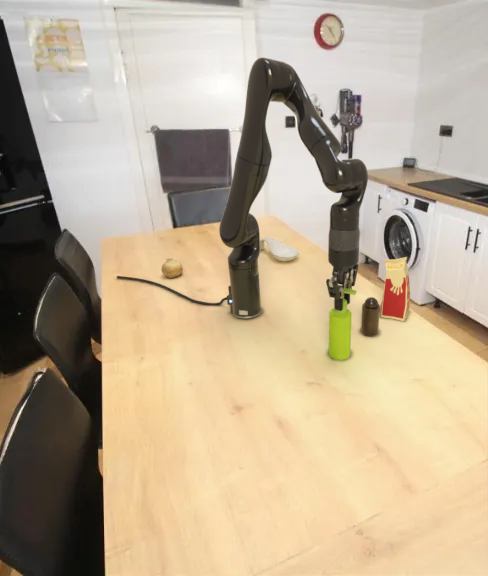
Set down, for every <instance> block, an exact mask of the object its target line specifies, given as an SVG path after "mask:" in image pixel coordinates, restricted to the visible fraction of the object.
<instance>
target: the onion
mask: <svg viewBox="0 0 488 576" xmlns="http://www.w3.org/2000/svg"><path fill="white" fill-rule="evenodd" d="M160 270H161V273H162V275H163V276H165V277H166V278H169V279H174V278H177V277H179V276H180V275H181V274H182V273H183V265H182V263H181V262H180V261H178V260H176V259H174V258H166V261H165V262H163V264H162V265H161V269H160Z"/></svg>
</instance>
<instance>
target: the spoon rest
mask: <svg viewBox="0 0 488 576" xmlns="http://www.w3.org/2000/svg"><path fill="white" fill-rule="evenodd" d="M265 242H266V243H267V245H268V249H269V251H270V253H271V255H272V257H273V258H274V259H275V260H277V261H279V262H283V263H285V262H290V261H293V260H295V259H296V258H297V257H298V256H299V254H300V251H299V250H298V249H297V248H295V247H293V246H291V245H289V244H287V243H285V242H282V241H279V239H278V240H277V239H275V238H274V237H270V236H266V237H264V238H260V251H262V250H264V249H265Z"/></svg>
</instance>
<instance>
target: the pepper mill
mask: <svg viewBox="0 0 488 576" xmlns="http://www.w3.org/2000/svg"><path fill="white" fill-rule="evenodd" d="M380 307H381V304H379V301H378V300H377V299H376V298H375V297H373V296H369V297H367V298H366V299H365V301H364V302H363V303H362V306H361V322H360V323H361V325H360V333H361V334H362V335H363V336H366V337H375V336H377V335H378V334H379V327H380Z"/></svg>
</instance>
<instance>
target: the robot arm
mask: <svg viewBox="0 0 488 576" xmlns="http://www.w3.org/2000/svg"><path fill="white" fill-rule="evenodd" d="M270 103H278V104H279V103H280V104H283V105H284V106H285V107H286V108H287V109H288V110H289V111H290V112H291V113H292V114H293V116H294V118H295V122H296V123H295V124H296V132H297V135H298V137H299V140H300V142H301V143H302V145H303V146H304V148H305V149H306V150H307V151H308V153H309V154H310V156H311V157H312V158H313V160H314V163H315V165H316V168H317V170H318V174H319V176H320V179H321V181H322V184H323V185H324V187H325V188H326V189H327V190H329V191H330V192H331V193H334V194H340V197H339V198H338V199H337V200H335V201H334V202H332V203H331V205H330V207H329V228H328V229H329V231H328V243H327V244H328V245H327V246H328V248H327V249H328V251H327V253H328V254H327V256H328V257H327V260H328V263H329V264H330V265H331V266H332V271H331V275H332V276H331V277H330V278H327V279H326V281H325V284H326V288H327V291H328V296H329V298H331V299H332V298H333V299H334V300H333V301H334V302H333V309H334V308H335V310H339V311H342V310H343V295H344V299H346V300H347V306H348V305H349V304H350V303H351V294H346V293H344V290H345V289H346V288H349V289H353V287H355V285H356V280H357V275H358V270H359V264H358V263H359V262H360V261H359V259H360V212H361V211H360V210H361V207H362V203H363V200H364V197H365V193H366V191H367V186H368V182H369V181H368V180H369V173H368V168H367V166H366V164H365V163H364V161H363V160H361V159H359V158H354V157H353V158H352V157H351V158H346V159H340V158H338V157H339V156H340V154H341V151H342V145H341V142H340V140H339V139H338V137H337V136H336V135H335V133H334V132H333V131H332V130H331V128H330V127H329V126H328V125H327V123H326V122H325V120H324V119H323V118H322V116H321V115H320V113H319V112H318V110H317V109H316V107H315V104H314V103H313V102H312V100H311V98H310V96H309V93H308V92H307V90H306V88H305V86H304V84H303V82H302V80H301V78H300V76H299V74H298V73H297V70H296V69H295V68H294V66H292V65H291V64H290V63H288V62H285V61H281V60H277V59H272V58H269V57H258V58H257V59H256V60H254V62H253V64H252V65H251V68H250V70H249V75H248V81H247V88H246V96H245V105H244V116H243V122H242V128H241V134H240V139H239V144H238V148H237V152H236V156H235V162H234V167H233V173H232V178H231V183H230V187H229V191H228V192H229V193H228V197H227V200H226V204H225V207H224V210H223V214H222V215H221V216H222V217H221V220H220V222H219V227H218V231H219V232H218V233H219V236H220V240H221V242H222V244H224V245H225V246H226V247H228V248H230V249H231V248H232V249H231V251H230V253H229V254H228V256H227V268H228V275H229V286H228V287H227V289H228V294H227V295H226V297H223V298H222V299H221V300H220V301H219V302H207V301H201V300H196V299H194V298H191V297H190V296H187V295H185V294H182V293H181V292H179V291H177V290H174V289H172V288H170V287H168V286H166V285H164V284H161V283H159V282H155V281H152V280H147V279H144V278H139V277H138V278H137V277H131V276H121V275H117V276H116V278H117V279H122V280H131V281H137V282H143V283H147V284H151V285H155V286H157V287H160V288H162V289H165V290H167V291H169V292H171V293H173V294H175V295H177V296H179V297H180V298H184V299H186V300H187V301H190V302H192V303H194V304H199V305H204V306H213V307H215V306H216V307H217V306H221V305H223V303H224V302H225V301H226V302H227V305H228V306H229V307H230V314H232V315H233V316H234V317H235V318H237V319H240V320H249V319H254V318H256V317H258V316H260V315H261V314H262V312H263V310H262V300H261V285H260V283H261V282H260V272H259V257H260V253H261V250H260V239H261V236H260V235H261V234H260V233H261V232H260V226H259V223H258V220H257V219H256V216H254V215H253V214H252V213H251V212H250V210H251V208H252V206H253V204H254V202H255V200H256V199H257V198H258V195H259V194H260V192H261V190H262V189H263V187H264V185H265V183H266V181H267V179H268V175H269V172H270V168H271V165H272V159H273V151H272V146H271V142H270V139H269V135H268V131H267V116H268V110H269V106H270ZM339 289H340V292H339Z"/></svg>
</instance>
